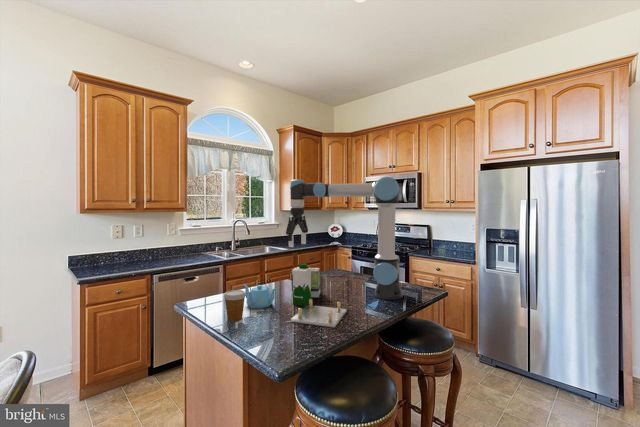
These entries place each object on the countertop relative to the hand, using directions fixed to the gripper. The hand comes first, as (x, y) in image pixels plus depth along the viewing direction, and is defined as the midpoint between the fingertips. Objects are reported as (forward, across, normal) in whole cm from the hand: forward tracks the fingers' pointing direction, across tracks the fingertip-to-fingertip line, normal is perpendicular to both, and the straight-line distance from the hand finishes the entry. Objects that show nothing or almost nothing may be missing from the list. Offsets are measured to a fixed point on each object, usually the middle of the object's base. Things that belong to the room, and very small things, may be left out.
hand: (297, 245), depth 177 cm
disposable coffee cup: (+28, +44, -6) cm, 53 cm away
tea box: (+28, -2, +4) cm, 29 cm away
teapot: (+28, +25, -8) cm, 39 cm away
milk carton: (+28, +12, +9) cm, 32 cm away
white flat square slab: (+28, +24, +26) cm, 45 cm away
